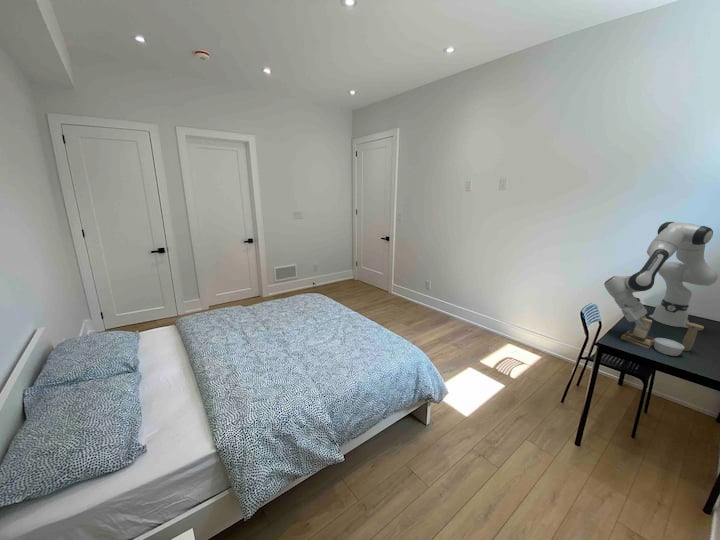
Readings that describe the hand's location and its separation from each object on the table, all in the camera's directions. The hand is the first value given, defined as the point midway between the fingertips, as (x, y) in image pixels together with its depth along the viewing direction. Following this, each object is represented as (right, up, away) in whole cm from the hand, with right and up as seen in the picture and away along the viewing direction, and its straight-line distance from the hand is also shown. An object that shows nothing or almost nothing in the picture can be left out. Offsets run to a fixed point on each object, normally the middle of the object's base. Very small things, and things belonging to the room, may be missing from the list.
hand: (644, 325), depth 164 cm
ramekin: (+5, -13, -7) cm, 15 cm away
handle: (+17, -13, -5) cm, 22 cm away
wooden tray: (-1, -9, +3) cm, 10 cm away
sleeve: (-1, -8, +3) cm, 9 cm away
